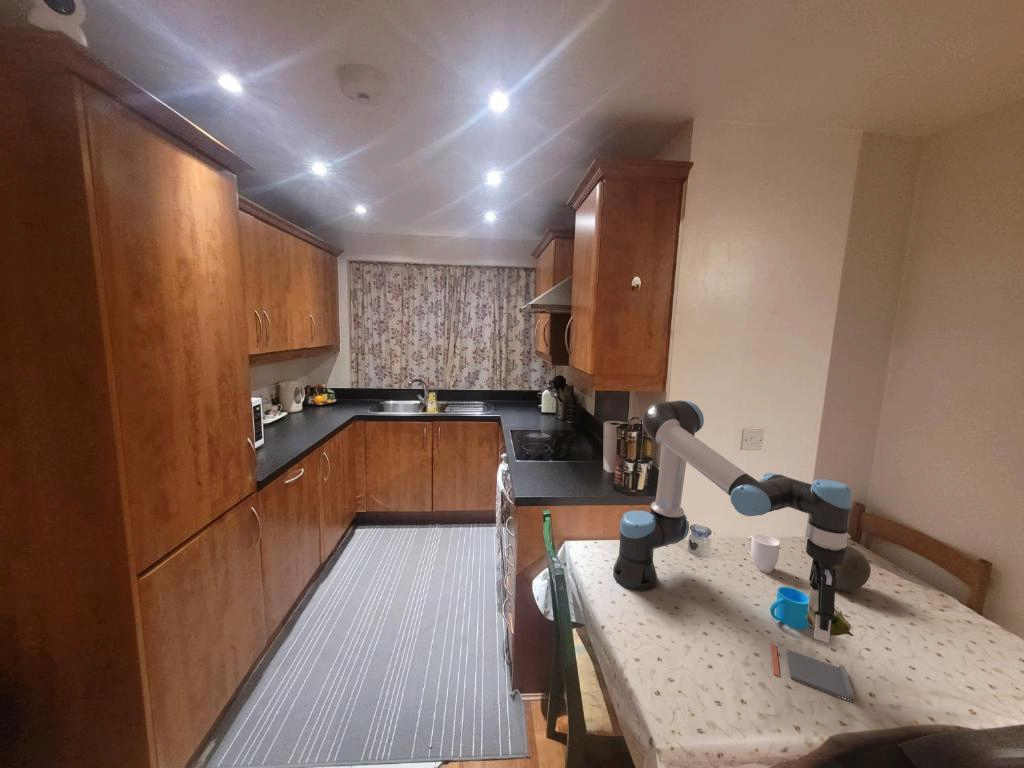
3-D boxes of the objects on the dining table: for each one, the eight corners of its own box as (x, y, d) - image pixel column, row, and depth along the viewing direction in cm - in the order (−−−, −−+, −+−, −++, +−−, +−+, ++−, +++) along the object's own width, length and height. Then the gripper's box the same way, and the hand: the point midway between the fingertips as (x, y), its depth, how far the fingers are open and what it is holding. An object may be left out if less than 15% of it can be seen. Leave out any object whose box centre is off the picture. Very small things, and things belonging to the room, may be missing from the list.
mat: (790, 678, 95) (791, 672, 95) (786, 651, 104) (787, 645, 104) (853, 702, 89) (854, 695, 89) (843, 672, 98) (844, 665, 97)
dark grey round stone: (864, 606, 123) (870, 563, 122) (810, 585, 134) (814, 545, 132) (870, 588, 132) (874, 548, 131) (819, 570, 143) (823, 532, 141)
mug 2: (790, 609, 121) (792, 585, 120) (814, 627, 113) (817, 602, 112) (758, 613, 119) (760, 589, 118) (781, 633, 111) (784, 607, 110)
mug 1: (783, 572, 141) (785, 542, 139) (766, 578, 138) (769, 547, 136) (753, 556, 152) (755, 528, 150) (737, 560, 149) (739, 532, 147)
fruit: (842, 653, 89) (838, 622, 88) (798, 629, 98) (794, 601, 97) (861, 634, 93) (858, 604, 92) (817, 613, 101) (814, 585, 100)
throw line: (773, 674, 96) (773, 673, 96) (771, 643, 107) (771, 642, 107) (779, 677, 96) (779, 675, 96) (776, 645, 106) (776, 644, 106)
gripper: (858, 570, 82) (847, 664, 84) (836, 528, 101) (828, 605, 103) (814, 559, 86) (805, 649, 88) (801, 521, 105) (794, 595, 107)
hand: (817, 625), depth 96 cm, fingers closed on fruit, 10 cm apart
